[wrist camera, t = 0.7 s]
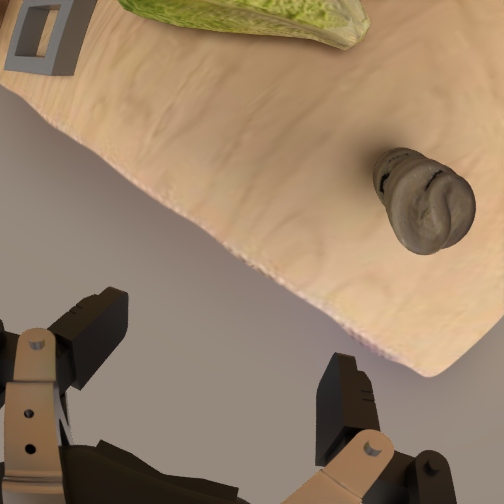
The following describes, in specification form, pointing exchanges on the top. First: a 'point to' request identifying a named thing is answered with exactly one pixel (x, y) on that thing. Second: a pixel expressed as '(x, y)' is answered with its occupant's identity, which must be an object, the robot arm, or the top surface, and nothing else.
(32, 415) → the robot arm
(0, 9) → the awning shelter
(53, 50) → the socket block
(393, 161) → the light bulb
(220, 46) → the top surface
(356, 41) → the lettuce
